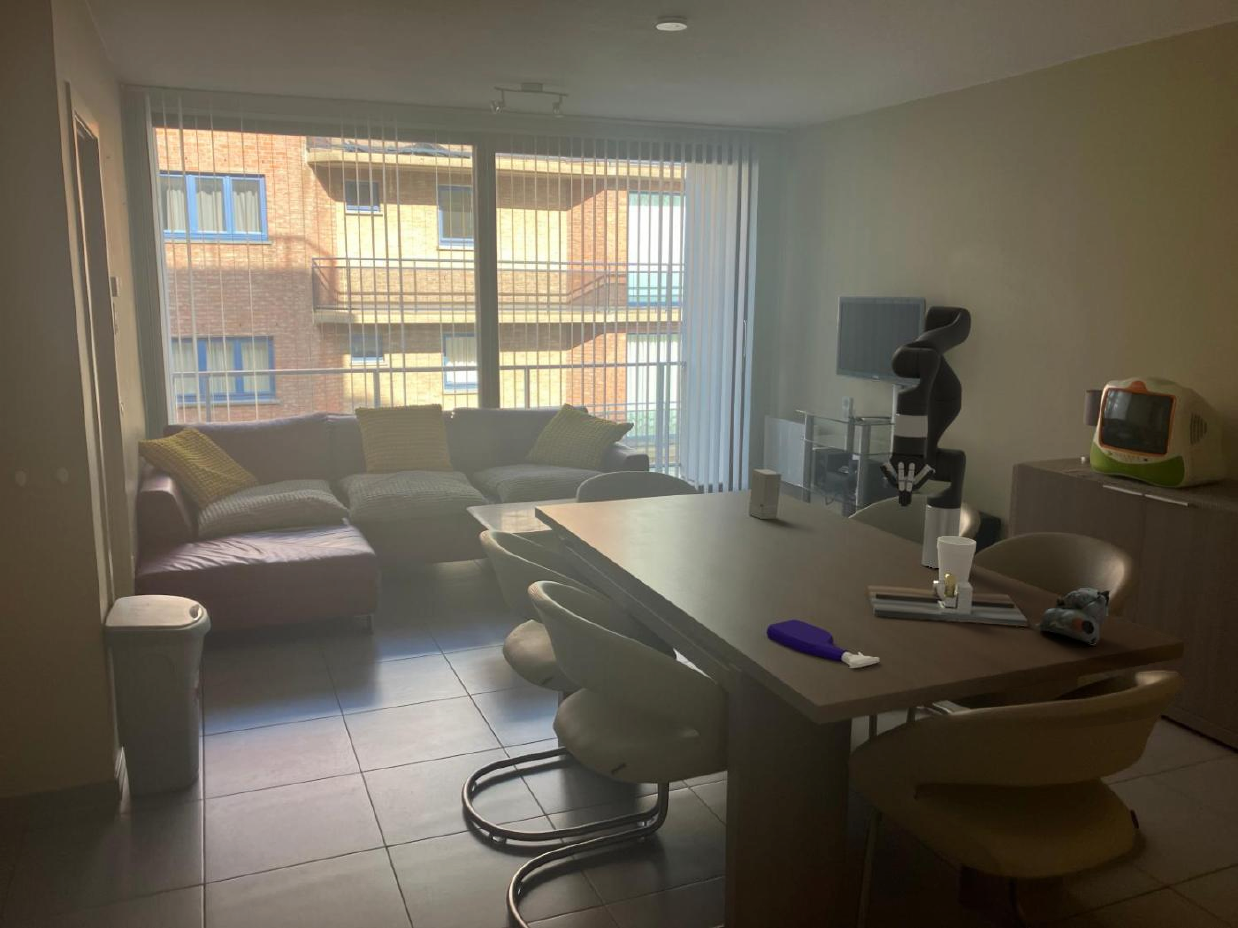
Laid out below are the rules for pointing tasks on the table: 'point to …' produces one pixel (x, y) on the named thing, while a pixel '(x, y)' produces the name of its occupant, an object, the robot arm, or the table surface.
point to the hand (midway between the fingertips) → (904, 505)
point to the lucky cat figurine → (1078, 615)
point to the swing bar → (946, 589)
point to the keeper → (959, 600)
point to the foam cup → (955, 556)
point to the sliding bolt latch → (925, 607)
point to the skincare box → (764, 494)
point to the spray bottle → (814, 642)
